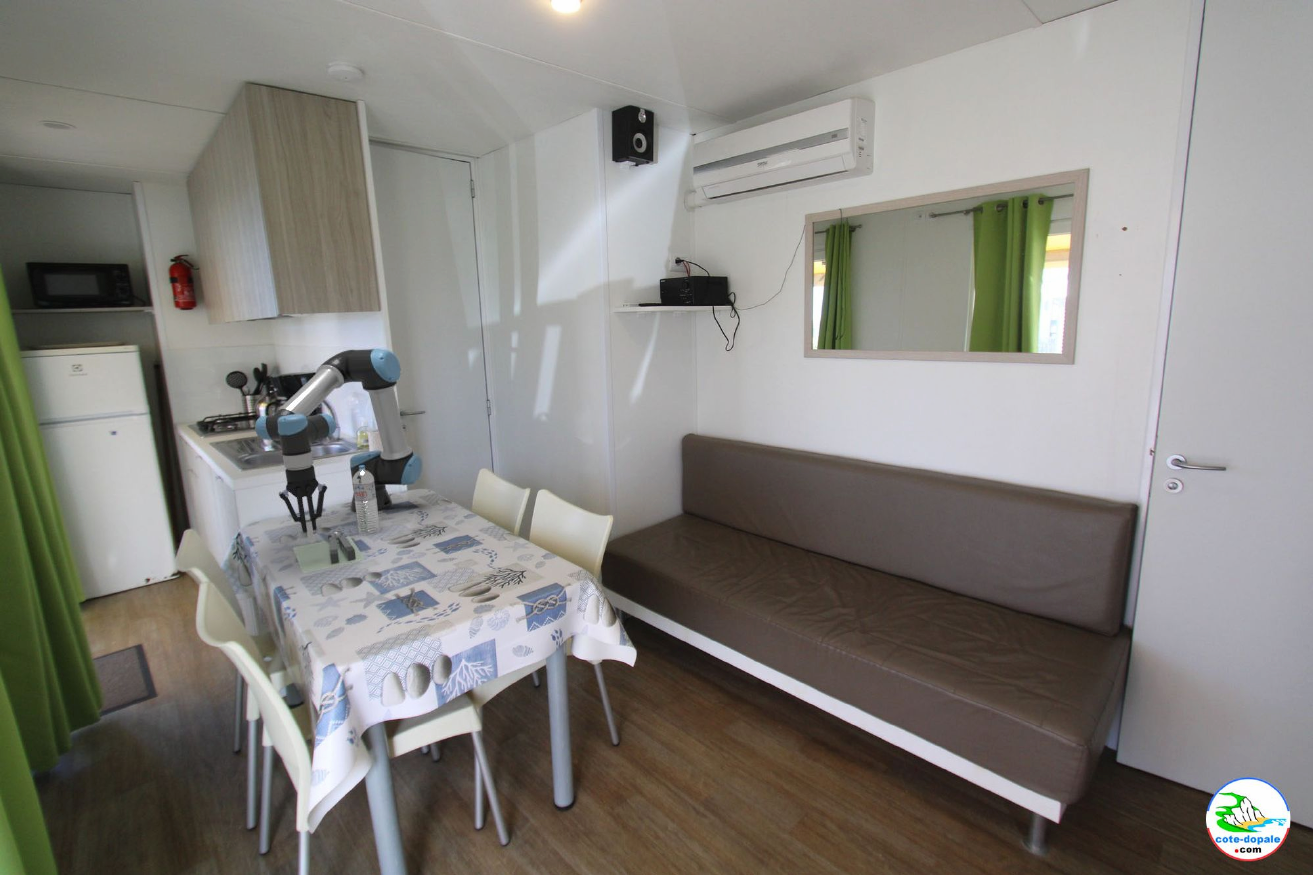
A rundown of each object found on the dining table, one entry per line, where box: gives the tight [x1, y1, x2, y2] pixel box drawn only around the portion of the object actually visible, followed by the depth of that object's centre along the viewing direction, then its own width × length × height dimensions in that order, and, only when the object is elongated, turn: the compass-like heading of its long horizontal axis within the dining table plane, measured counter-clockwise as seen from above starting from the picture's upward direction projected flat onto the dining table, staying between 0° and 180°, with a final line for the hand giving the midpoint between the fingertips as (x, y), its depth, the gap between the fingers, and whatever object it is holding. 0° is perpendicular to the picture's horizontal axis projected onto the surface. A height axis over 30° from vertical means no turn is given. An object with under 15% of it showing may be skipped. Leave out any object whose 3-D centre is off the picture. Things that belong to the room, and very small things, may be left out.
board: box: [292, 535, 366, 574], centre depth 195 cm, size 17×26×1 cm, turn 36°
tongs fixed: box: [326, 529, 356, 560], centre depth 197 cm, size 5×24×4 cm, turn 36°
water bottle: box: [351, 465, 381, 536], centre depth 212 cm, size 7×7×25 cm
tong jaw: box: [329, 537, 339, 564], centre depth 194 cm, size 2×17×3 cm, turn 29°
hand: (311, 540), depth 187 cm, fingers closed
